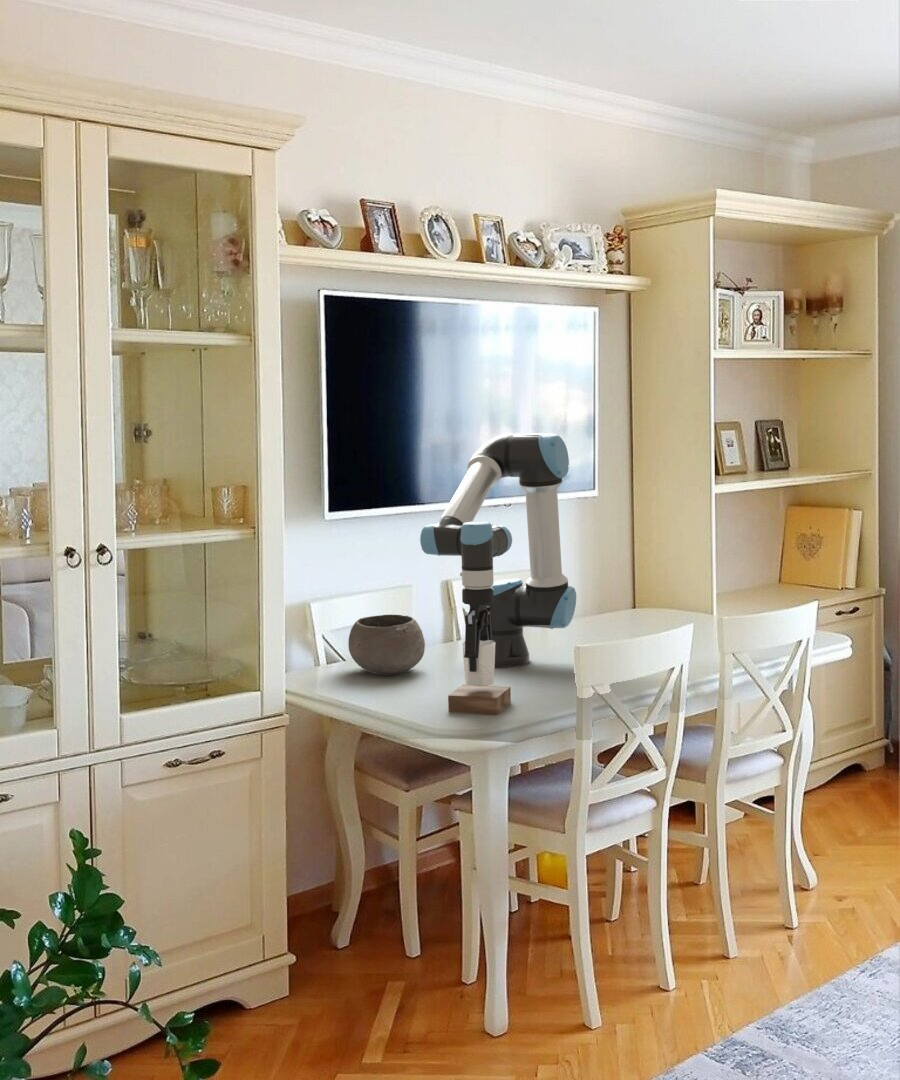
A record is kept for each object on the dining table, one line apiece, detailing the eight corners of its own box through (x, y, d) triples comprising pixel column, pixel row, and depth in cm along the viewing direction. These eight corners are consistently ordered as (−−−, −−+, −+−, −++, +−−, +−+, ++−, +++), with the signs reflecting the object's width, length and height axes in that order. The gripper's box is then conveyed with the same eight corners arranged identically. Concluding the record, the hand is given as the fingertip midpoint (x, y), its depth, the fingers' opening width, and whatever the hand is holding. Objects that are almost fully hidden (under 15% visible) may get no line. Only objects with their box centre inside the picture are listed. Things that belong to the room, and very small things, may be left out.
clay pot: (423, 680, 332) (422, 624, 331) (345, 681, 333) (343, 626, 331) (427, 664, 353) (426, 611, 352) (353, 665, 354) (352, 612, 352)
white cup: (500, 685, 299) (499, 644, 298) (468, 688, 297) (468, 646, 296) (489, 678, 307) (489, 638, 306) (459, 681, 305) (458, 640, 303)
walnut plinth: (463, 700, 310) (463, 684, 310) (510, 702, 306) (510, 686, 306) (448, 711, 299) (448, 695, 298) (496, 714, 295) (496, 698, 295)
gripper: (475, 580, 310) (477, 670, 313) (449, 593, 291) (451, 689, 293) (504, 580, 308) (506, 672, 310) (480, 593, 288) (482, 691, 291)
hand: (479, 680), depth 302 cm, fingers closed on white cup, 8 cm apart
